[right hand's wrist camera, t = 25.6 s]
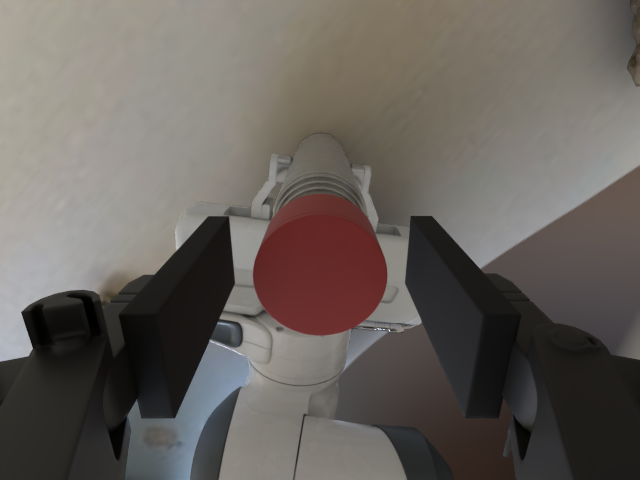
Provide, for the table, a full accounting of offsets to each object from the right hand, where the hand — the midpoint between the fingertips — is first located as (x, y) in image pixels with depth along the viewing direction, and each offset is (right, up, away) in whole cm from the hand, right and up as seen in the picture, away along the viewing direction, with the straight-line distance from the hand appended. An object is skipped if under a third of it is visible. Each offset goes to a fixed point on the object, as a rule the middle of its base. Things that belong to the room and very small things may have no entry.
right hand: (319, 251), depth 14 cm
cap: (0, -1, -2) cm, 2 cm away
